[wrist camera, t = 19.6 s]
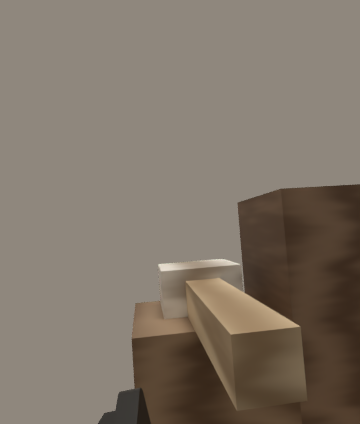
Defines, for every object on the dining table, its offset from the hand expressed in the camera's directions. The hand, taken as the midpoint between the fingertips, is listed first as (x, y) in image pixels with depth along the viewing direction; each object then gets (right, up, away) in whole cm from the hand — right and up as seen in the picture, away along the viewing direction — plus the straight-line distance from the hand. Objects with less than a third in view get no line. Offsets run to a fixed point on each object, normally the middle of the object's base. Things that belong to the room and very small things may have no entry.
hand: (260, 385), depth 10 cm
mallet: (0, -3, +12) cm, 12 cm away
